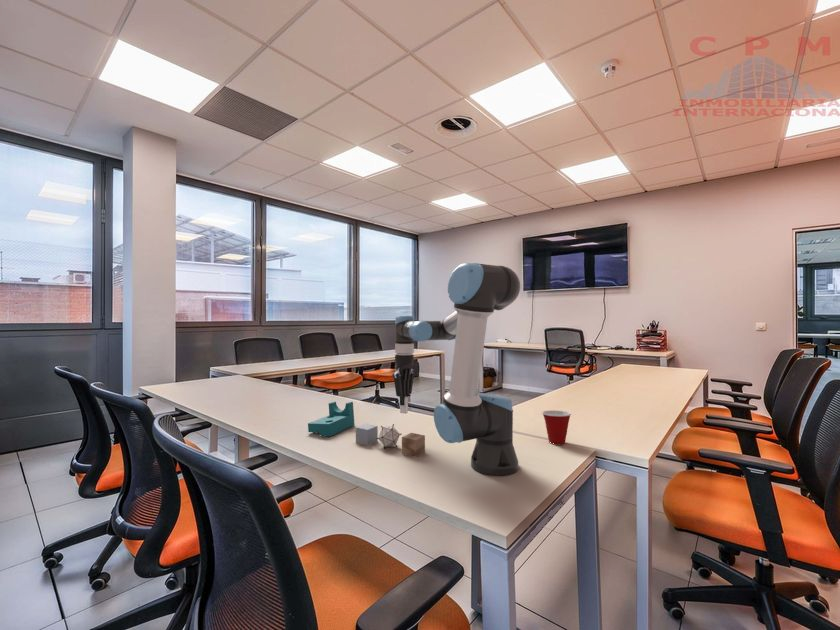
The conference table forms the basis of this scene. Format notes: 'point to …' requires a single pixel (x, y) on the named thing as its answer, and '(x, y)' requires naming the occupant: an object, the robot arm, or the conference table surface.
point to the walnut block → (413, 444)
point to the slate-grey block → (366, 434)
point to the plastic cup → (556, 425)
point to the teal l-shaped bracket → (334, 420)
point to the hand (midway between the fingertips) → (403, 412)
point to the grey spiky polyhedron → (389, 436)
